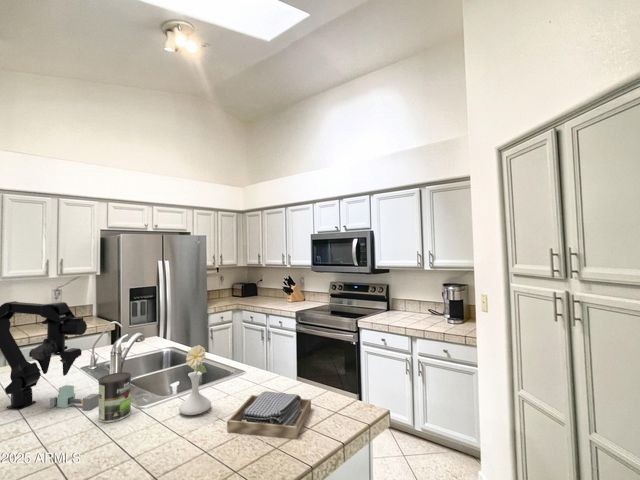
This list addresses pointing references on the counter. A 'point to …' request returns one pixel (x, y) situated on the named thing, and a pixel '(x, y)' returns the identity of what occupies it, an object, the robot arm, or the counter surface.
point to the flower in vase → (195, 384)
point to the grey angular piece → (79, 402)
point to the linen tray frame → (267, 429)
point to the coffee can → (114, 397)
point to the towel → (274, 408)
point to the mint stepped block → (65, 396)
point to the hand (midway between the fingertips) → (55, 374)
